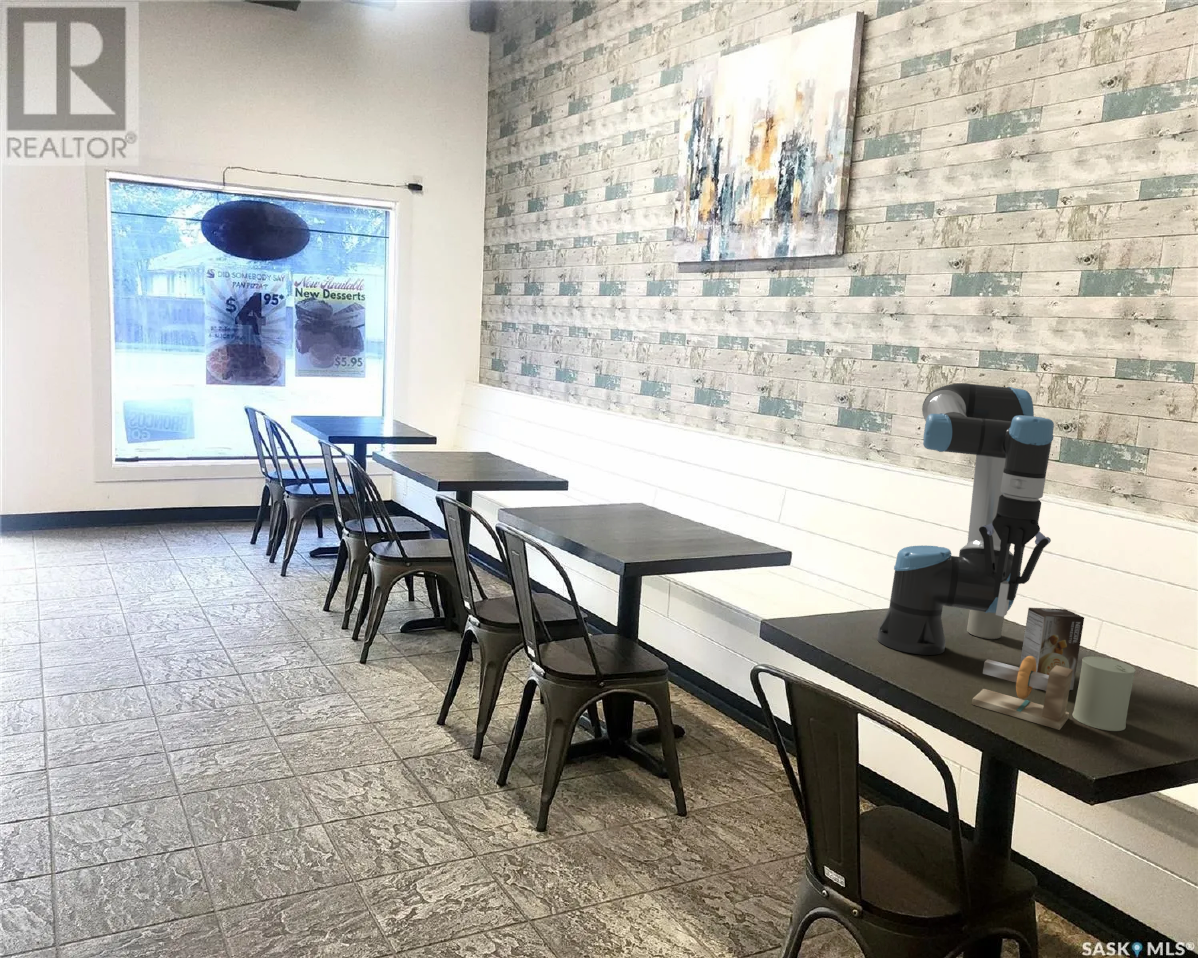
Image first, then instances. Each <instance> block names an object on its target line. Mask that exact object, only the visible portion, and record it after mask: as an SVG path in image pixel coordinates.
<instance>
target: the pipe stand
mask: <svg viewBox="0 0 1198 958" xmlns="http://www.w3.org/2000/svg"><path fill="white" fill-rule="evenodd" d="M1019 669H1020V666H1015V665H1011V664H1006V663H1003V662H999V661H996V660H992V659H989V658H987V659H986V660H985V661H984V663H983V668H982V674H983V675H985V676H986V675H987V676H991V677H994V678H997V679H1001V680H1006V681H1008V682H1013V683H1015V684H1016V683H1017V676H1018V672H1019ZM1072 673H1073V669H1069V668H1065V667H1061V666H1057V665H1056V666H1055V667H1054V668H1053V669H1052V670H1051V671H1050V672H1049V675H1046V674H1042V673H1038V672H1034V671H1031V673H1030V676H1029V681H1028V686H1030V687H1034V688H1038V689H1037V690H1042V691H1045V696H1044V702H1043V704H1040V703H1036V702H1033V701H1031V700H1028V699H1021V698H1019V697H1015V696H1011V695H1008V694H1004V693H1000V692H997V691H994V690H989V689H986V688H982V689H981V690H980V691H979V692H978V693H977V694H976V695H975V696H974V697H972V701H971V705H972V706H975V707H976V706H977V707H978V708H982V709H986V710H990V711H994V712H997V713H1000V714H1002V715H1003V714H1004V715H1006V716H1011V717H1013V718H1018V719H1021V720H1024V721H1027V722H1031V723H1035V724H1036V725H1037V724H1038V725H1041V726H1046V727H1049V728H1052V729H1054V730H1057V731H1058V730H1059V731H1060V730H1061V729H1062V728H1063V726H1064V725H1065V724H1066V723H1067V721H1068V720H1069V718H1070V717H1069V716H1070V712H1068V711H1067V707H1068V701H1069V695H1070V691H1071V690H1070V684H1071V679H1072ZM1034 688H1033V689H1034Z"/></svg>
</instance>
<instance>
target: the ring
mask: <svg viewBox="0 0 1198 958" xmlns="http://www.w3.org/2000/svg"><path fill="white" fill-rule="evenodd" d="M1019 668H1020V669H1019V672H1018V676H1017V683H1016V682H1015V690H1016V696H1017V698H1019V699H1022V700H1026V699H1027V698H1028V697H1029V696H1030V694H1031V693H1032V690H1033V688H1032V687H1030V686H1028V681H1029V676H1030V673H1031V671H1034V672H1036V669H1037V667H1036V659H1035V658H1034V657H1033V656H1027V657H1026V658H1025V659H1024V660H1023V661H1022V663H1021V666H1020V665H1019Z"/></svg>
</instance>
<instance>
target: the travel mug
mask: <svg viewBox="0 0 1198 958" xmlns="http://www.w3.org/2000/svg"><path fill="white" fill-rule="evenodd" d="M1004 620H1005V616H1004V617H1002V616H998V615H996V613H985V612H982V611H976V610H969V614H968V620H967V626H966V632H967V633H969V634H970V635H972V636H975V637H977V638H980V639H981V638H982V639H986V640H987V639H988V640H998V639H1000V638H1002V633H1003V632H1002V631H1003V626H1004Z"/></svg>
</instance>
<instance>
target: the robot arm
mask: <svg viewBox="0 0 1198 958" xmlns="http://www.w3.org/2000/svg"><path fill="white" fill-rule="evenodd" d="M922 403H923V404H922V408H921V409H922V411H921V412H922V416H923V419H924V421H925V424H924V431H923V447H924V448H925V449H927V450H931V451H936V452H939V453H944V452H945V453H946V452H947V453H954V454H955V453H956V454H965V455H973V456H976V457H975V466H974V475H973V485H972V493H971V505H970V506H971V507H970V515H969V524H968V525H969V526H968V533H967V534H968V535H967V536H968V537H967V543H966V544H965V545H964V546H962V547H961V548H960V549H959V554H958V556H955V555H952V552H951V549H950V548H947V547H944V546H939V545H911V546H906V547H903V548H901V549H900V550H899V551H898V552H897V556H896V561H895V565H893V570H894V573H893V574H894V575H893V581H892V585H891V587H892V588H891V593H890V601H889V606H888V609H887V611H886V613H885V616H884V618H883V619H882V621H881V623H880V625H879V627H878V630H877V634H876V635H877V637H876V640H877V641H878V642H879V643H881V645H884V646H886V647H888V648H890V649H892V650H896V651H899V652H903V653H909V654H913V655H920V656H921V655H923V656H935V655H941V654H943V653H944V652H945V651H946V650H945V648H946V636H945V635H946V634H945V632H944V625H943V619H942V616H943V615H942V614H943V608H944V607H949V608H950V607H951V608H955V609H963V610H968V611H970V610H976V611H982V612H985V613H996V615H998V616H1002V617H1004V618H1005V616H1006V615H1008V612H1009V610H1010V609H1011V607H1012V606H1013V604H1014V601H1015V599H1016V597H1017V592H1018V588H1019V585H1022V584H1023V585H1024V584H1026V583H1028V582H1029V581H1030V579H1031V577H1032V574H1033V571H1034V570H1035V568H1036V565H1037V563H1038V561H1039V560H1040V558H1041V554H1042V552H1043V550H1044V549H1045V548H1046V547H1047V546H1048V545H1049V544H1050V543H1051V541H1052V540H1051V538H1050V537H1049V536H1045V534H1043V533H1042V532H1041V531H1040V530H1041V527H1040V525H1039V520H1040V513H1041V509H1042V502H1041V500H1040V499H1041V498H1043V495H1044V490H1045V483H1046V476H1047V472H1048V471H1047V470H1048V465H1049V459H1050V452H1051V449H1052V443H1053V440H1054V437H1055V436H1054V428H1055V423H1054V421H1053V420H1052V419H1050V418H1046V417H1041V416H1035V412H1034V410H1035V409H1034V401H1033V398H1032V396H1031V394H1030V393H1029V392H1028V391H1027V390H1025V389H1022V388H1014V387H1012V386H1006V387H1005V386H996V385H986V384H973V383H967V382H965V383H963V382H962V383H961V382H959V383H957V382H956V383H950V384H945V385H943V386H941V387H938V388H936V389H934V390H933V391H931V392H930V393H929V394H928V395H927V396H926V397H925V399H924V400H923V402H922ZM1033 538H1035V541H1034V543H1035V546H1034V548H1033V550H1032V552H1031V554H1030V556H1029V558H1028V561H1027V563H1026V565H1025V567H1024V569H1023V571H1022V574H1021V570H1022V563H1023V558H1024V557H1023V556H1024V551H1025V547H1026V544H1028V543H1029V542H1031V540H1032V539H1033ZM1012 545H1013V547H1014V548H1013V553H1012V552H1011V550H1010V548H1011V546H1012Z"/></svg>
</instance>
